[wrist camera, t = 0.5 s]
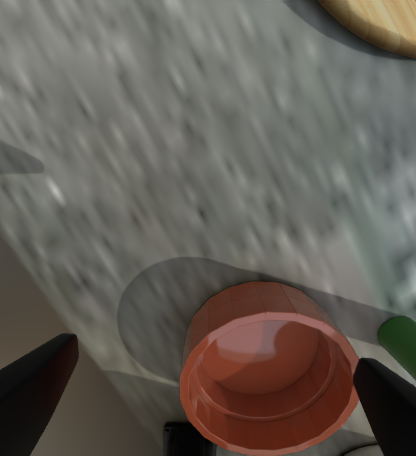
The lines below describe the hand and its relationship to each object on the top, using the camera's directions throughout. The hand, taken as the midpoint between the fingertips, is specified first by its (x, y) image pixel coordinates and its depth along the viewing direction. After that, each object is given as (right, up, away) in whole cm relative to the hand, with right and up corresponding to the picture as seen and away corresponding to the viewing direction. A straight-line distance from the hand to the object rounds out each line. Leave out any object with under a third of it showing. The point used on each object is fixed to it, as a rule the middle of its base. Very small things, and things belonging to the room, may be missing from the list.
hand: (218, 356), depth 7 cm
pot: (+5, -9, +18) cm, 20 cm away
